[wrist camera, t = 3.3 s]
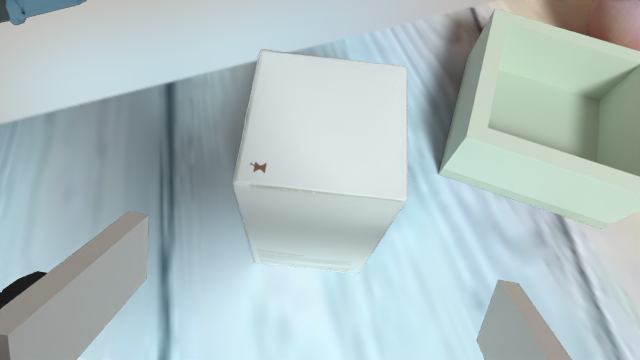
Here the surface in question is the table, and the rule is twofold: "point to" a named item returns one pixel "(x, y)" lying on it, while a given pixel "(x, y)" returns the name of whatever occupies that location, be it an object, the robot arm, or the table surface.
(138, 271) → the robot arm
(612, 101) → the open square container
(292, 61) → the supplement box
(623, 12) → the decorative fruit
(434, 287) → the table surface
